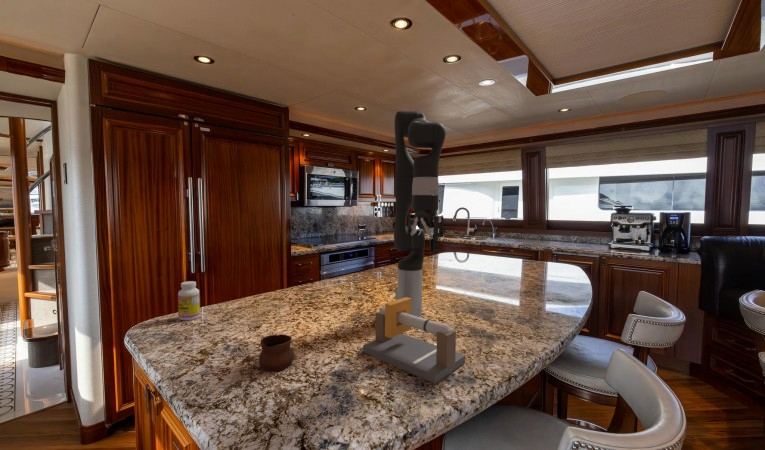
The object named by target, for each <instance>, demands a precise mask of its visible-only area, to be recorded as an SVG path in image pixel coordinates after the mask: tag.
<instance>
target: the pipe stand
mask: <svg viewBox="0 0 765 450" xmlns="http://www.w3.org/2000/svg"><path fill="white" fill-rule="evenodd" d="M397 322H398V323H401V324H404V325H407V326H410V327H411V328H413V329H416V330H419V331H422V332H425V333H430V334H432V335H434V336H435V335H436V344H433V343H430V342H427V341H424V340H421V339H419V338H416V337H413V336H410V335H407V334H405V333H401V334H399V335H397V336H394V337H392V338H388V337H386V336H385V306H382V307H380V309H379V311H376V312H375V328H374V329H375V331H374V332H375V335H374V337H375V339H374V340H372V341H370V342H367V343H364V344H363V345H362V352H363V353H365V354H367V355H369V356H371V357H373V358H375V359H378V360H380V361H382V362H384V363H387V364H389V365H390V366H393V367H396V368H398V369H400V370H402V371H405V372H408V373H409V374H411V375H414V376H416V377H419V378H421V379H423V380H425V381H428V382H430V383H431V384H434V385H435V384H437V383H438V382H440V381H442V380H443V379H444V378H446V377H447V376H448V375H450V374H451V373H453V372H454V371H456V370H458V368H460V367H463V365H465V364H466V355H465V354H461V353H458V352H457V350H456V347H457V331H456V330H453V329H452V327H451V326H450V325H448V324H444V323H441V322H437V321H433V320H432V319H427V318H424V317H420V316H413V315H410V314H407V313H403V312H400V311H399V312H397Z"/></svg>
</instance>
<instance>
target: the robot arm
mask: <svg viewBox="0 0 765 450" xmlns="http://www.w3.org/2000/svg"><path fill="white" fill-rule="evenodd" d="M446 132H447V131H446V127H445V126H444V124H443V123H441V122H437V121H436V122H434V121H428V120H427V119H426V116H425V114H424V113H423V112H421V111H418V110H417V111H416V110H414V111H412V110H405V111H404V110H401V111H397V112H396V113H395V116H394V139H395V140H394V141H395V143H394V145H395V173H394V174H395V175H394V176H395V177H394V179H395V180H394V181H395V183H394V186H395V188H394V189H395V213H394V214H395V217H394V228H393V243H394V247H395V249H396V250H397V251H398V252H405V251H407V252H408V251H409V252H410V253H409V254H408V255H407V256H406V257H404V258H401V259H399V260H398V262H397V286H396V287H395V294H394V295H395V296H394V297H395V300H399V299H402V298H405V297H408V298H412V302H411V315H413V316H417V317H420V316H421V315H422V313H423V311H422V309H423V265H424V264H423V263H424V260H425V259H424V256H425V245H426V244H425V242H426V241H425V240H426V236H425V232H426V233H427V234H428V236H429V237H428V238H429V245H428V246H429V248H428V249H429V250H428V251H429V253H431V254H434V253H435V254H436V253H437V252H438V249H439V246H438V245H439V239H440V238H443V237H445V235H444V233H445V232H444V230H445V228H444V220H445V219H444V215H439V214H436V211H438V210H439V201H440V200H439V195H440V184H439V162H440V158H441V152H442V151H443V146H444V143H445V140H446V135H447V133H446ZM405 138H407V141H408V143H409V146H410V147H412V148H416V149H431V151H430V153H429V154H425V155H420V156H417V157H415V158H413V157H412V156H411V154H410V153H409V151H408V148H407V146H406V142H405ZM410 209H412V211H415V212H414V213H411V212H410ZM409 212H410V213H409ZM395 300H394V301H395Z"/></svg>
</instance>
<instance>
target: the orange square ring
mask: <svg viewBox="0 0 765 450" xmlns="http://www.w3.org/2000/svg"><path fill="white" fill-rule="evenodd" d="M411 302H412V298H408V297H405V298H402V299H399V300H394V301H390V302H385V303H384V307H385V336H386V337H388V338H392V337H394V336H397V335H399V334H401V333H402V334H405V333H406V332H408V331H410V330H412V327H410V326H407V325H404V324H401V323H398V322H397V312H399V311H400V312H403V313H407V314H410V315H411Z"/></svg>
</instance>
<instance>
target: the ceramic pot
mask: <svg viewBox="0 0 765 450" xmlns="http://www.w3.org/2000/svg"><path fill="white" fill-rule="evenodd" d="M292 341H293V338H292V336H290V335H287V334H282V333H281V334H271V335H270V334H269V335H266V336H264V337H262V338H261V340H260V346H261V351H260V353H259V355H258V364H259V366H260V369H262V370H264V371H266V372H280V371H281V372H282V371H284V370H286V369H288V368H289V367H291V366H292V363H293V361H294V357H295V352H294V350H293V349H292V347H291V342H292ZM238 373H240V376H241V377H242V378H244V375H245V374H244V371H242V369H241V368H239V371H238ZM245 379H247V378H245ZM247 380H248V379H247Z"/></svg>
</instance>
